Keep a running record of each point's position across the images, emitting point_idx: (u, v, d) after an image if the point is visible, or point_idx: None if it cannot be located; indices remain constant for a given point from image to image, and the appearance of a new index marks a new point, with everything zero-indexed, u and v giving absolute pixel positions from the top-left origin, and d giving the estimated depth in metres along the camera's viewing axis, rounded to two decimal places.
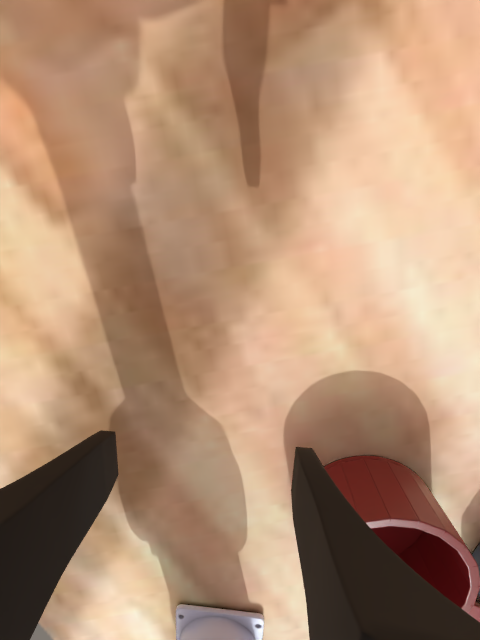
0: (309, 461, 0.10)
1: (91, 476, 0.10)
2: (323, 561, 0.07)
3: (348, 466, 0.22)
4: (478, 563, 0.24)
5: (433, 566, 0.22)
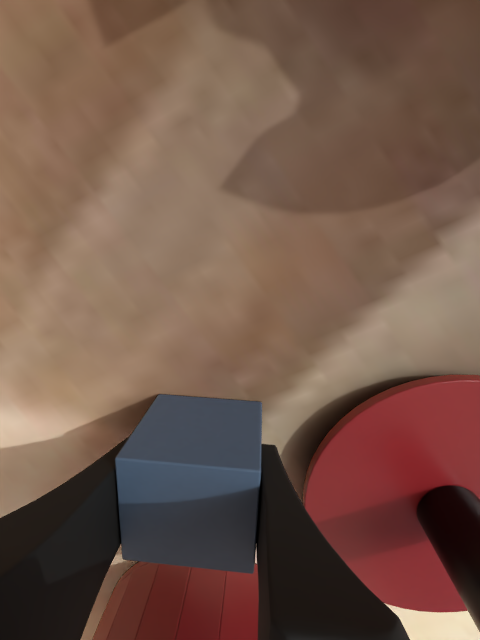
0: (268, 458, 0.10)
1: None
2: (264, 555, 0.07)
3: None
4: None
5: None
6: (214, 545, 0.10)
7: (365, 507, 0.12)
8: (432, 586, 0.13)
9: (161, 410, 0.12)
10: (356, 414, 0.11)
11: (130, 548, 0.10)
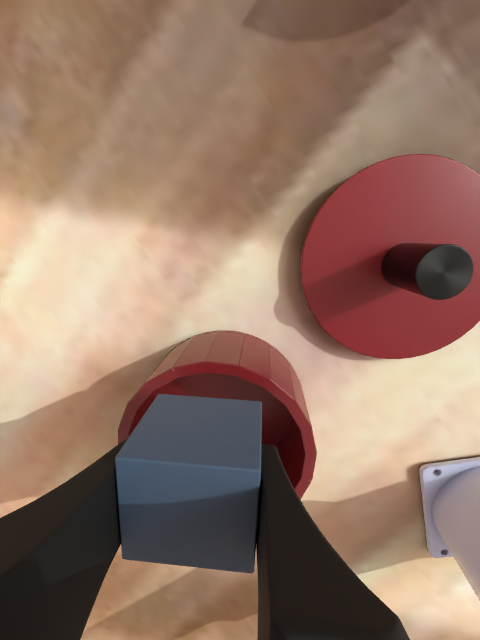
0: (267, 458, 0.10)
1: None
2: (264, 555, 0.07)
3: None
4: None
5: None
6: (214, 545, 0.10)
7: (345, 267, 0.17)
8: (395, 334, 0.18)
9: (161, 410, 0.12)
10: (337, 188, 0.16)
11: (130, 548, 0.10)
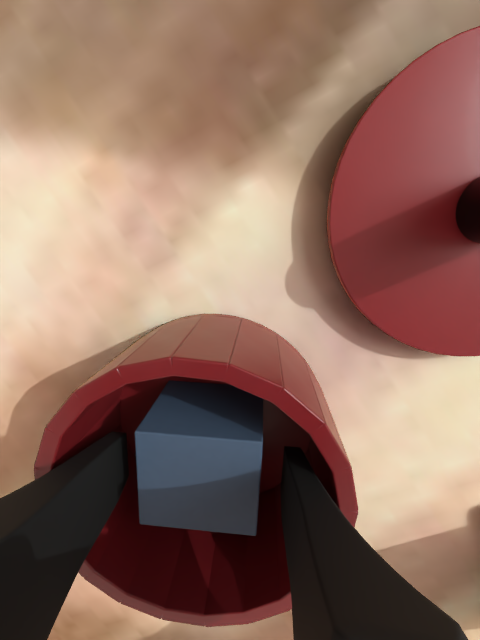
0: (296, 460, 0.10)
1: (104, 477, 0.10)
2: (305, 559, 0.07)
3: None
4: None
5: None
6: (221, 510, 0.11)
7: (397, 213, 0.11)
8: (470, 319, 0.12)
9: (172, 393, 0.13)
10: (391, 80, 0.10)
11: (146, 513, 0.11)
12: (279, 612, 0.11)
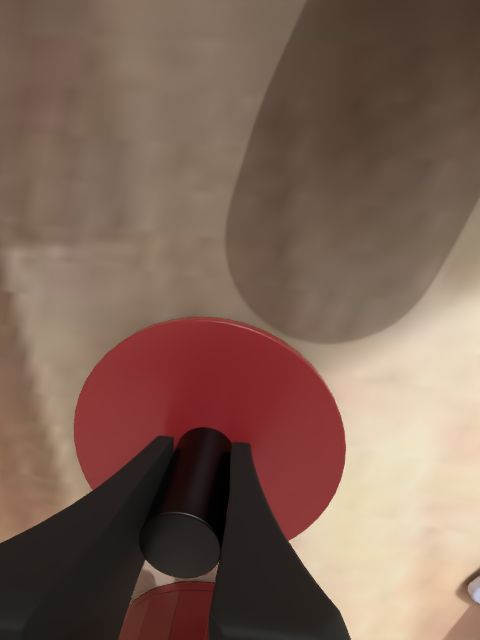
0: (239, 455, 0.10)
1: (157, 482, 0.10)
2: None
3: None
4: None
5: None
6: None
7: None
8: (274, 512, 0.13)
9: None
10: (75, 442, 0.13)
11: None
12: None
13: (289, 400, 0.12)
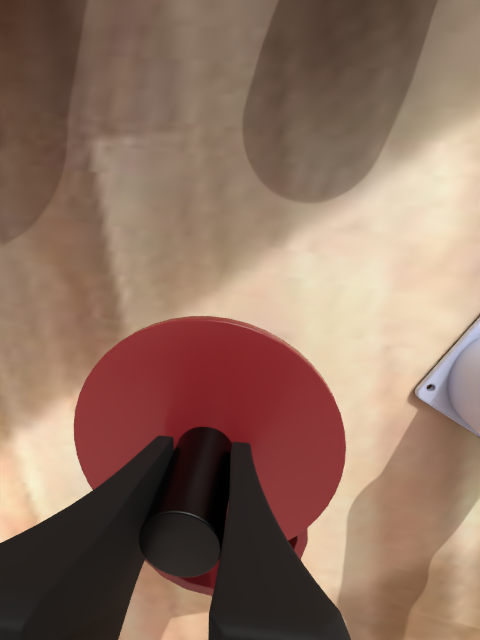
0: (239, 455, 0.10)
1: (157, 482, 0.10)
2: None
3: None
4: None
5: None
6: None
7: None
8: (274, 512, 0.13)
9: None
10: (75, 441, 0.13)
11: None
12: None
13: (289, 399, 0.12)
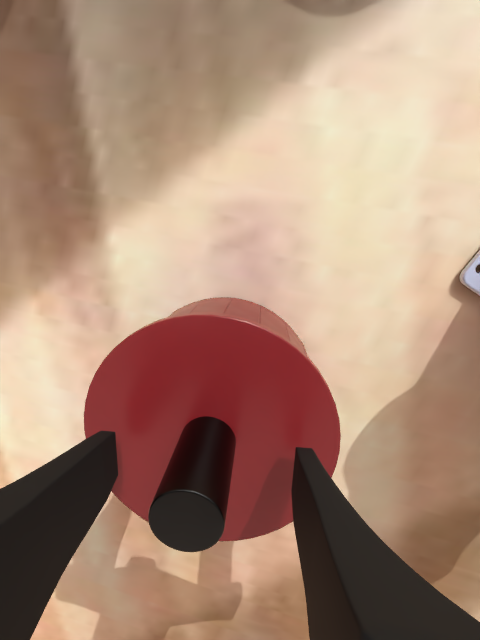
0: (309, 461, 0.10)
1: (91, 476, 0.10)
2: (323, 561, 0.07)
3: None
4: None
5: None
6: None
7: None
8: (273, 497, 0.14)
9: None
10: (85, 431, 0.14)
11: None
12: None
13: (287, 390, 0.12)
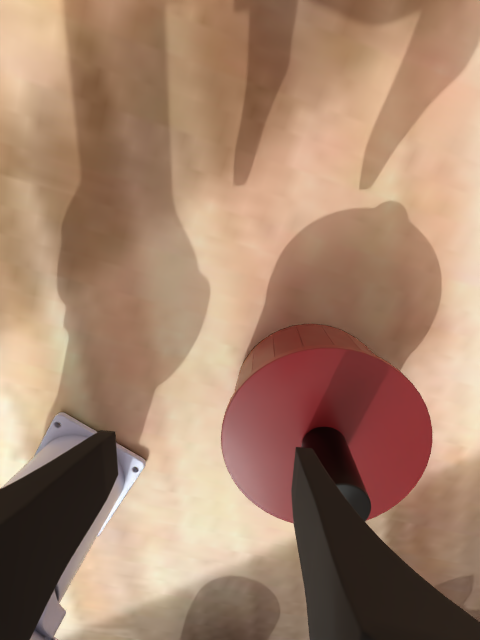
0: (309, 461, 0.10)
1: (91, 476, 0.10)
2: (323, 561, 0.07)
3: (328, 328, 0.20)
4: None
5: None
6: None
7: (368, 408, 0.16)
8: (271, 396, 0.16)
9: None
10: (430, 451, 0.16)
11: None
12: None
13: (261, 480, 0.17)
